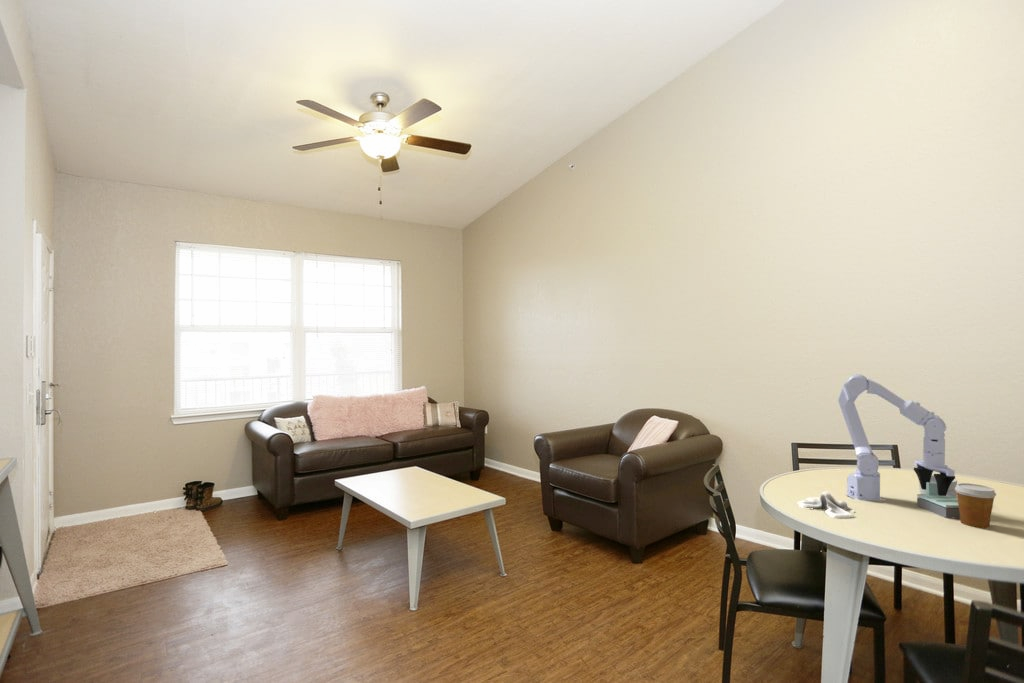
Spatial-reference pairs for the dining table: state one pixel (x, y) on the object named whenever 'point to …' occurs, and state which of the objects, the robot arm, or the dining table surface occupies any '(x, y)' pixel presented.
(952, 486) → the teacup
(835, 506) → the cloth
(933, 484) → the lid
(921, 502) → the tub
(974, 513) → the disposable coffee cup
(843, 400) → the robot arm
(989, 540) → the dining table surface
